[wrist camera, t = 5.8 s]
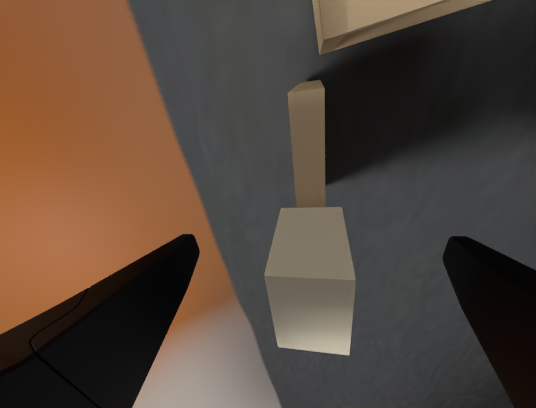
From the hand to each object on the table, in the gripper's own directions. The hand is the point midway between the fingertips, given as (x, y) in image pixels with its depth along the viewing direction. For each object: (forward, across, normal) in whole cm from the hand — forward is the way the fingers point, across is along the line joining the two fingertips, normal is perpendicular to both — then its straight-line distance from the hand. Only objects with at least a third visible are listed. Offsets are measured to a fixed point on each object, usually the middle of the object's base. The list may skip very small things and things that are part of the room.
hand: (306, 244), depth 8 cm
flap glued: (+7, 0, -2) cm, 7 cm away
